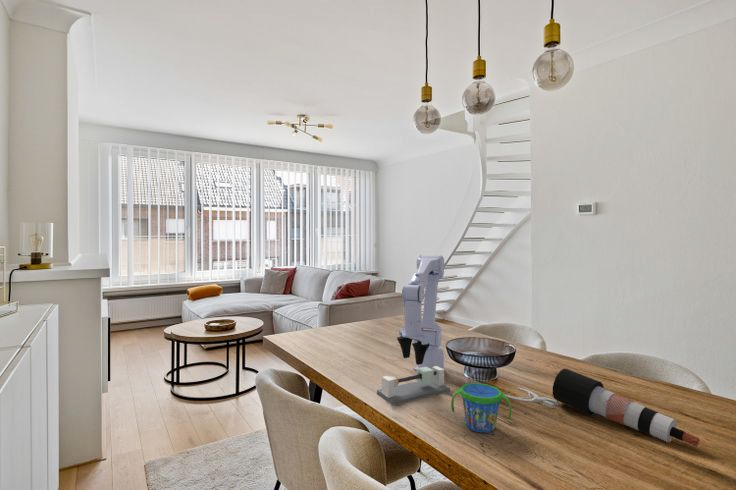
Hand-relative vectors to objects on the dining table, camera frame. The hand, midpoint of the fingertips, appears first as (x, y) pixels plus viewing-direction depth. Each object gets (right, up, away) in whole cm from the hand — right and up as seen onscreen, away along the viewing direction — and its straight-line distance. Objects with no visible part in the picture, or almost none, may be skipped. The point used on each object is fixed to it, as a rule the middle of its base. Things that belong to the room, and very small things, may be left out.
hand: (412, 360), depth 133 cm
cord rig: (0, -10, -3) cm, 10 cm away
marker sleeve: (+4, -7, -1) cm, 8 cm away
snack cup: (+15, -10, -27) cm, 32 cm away
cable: (+54, -11, -25) cm, 60 cm away
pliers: (+37, -10, -8) cm, 39 cm away
